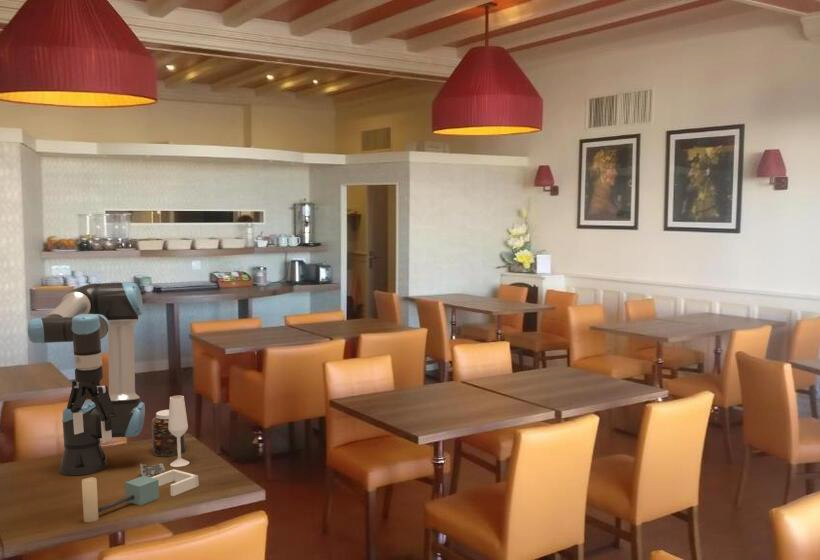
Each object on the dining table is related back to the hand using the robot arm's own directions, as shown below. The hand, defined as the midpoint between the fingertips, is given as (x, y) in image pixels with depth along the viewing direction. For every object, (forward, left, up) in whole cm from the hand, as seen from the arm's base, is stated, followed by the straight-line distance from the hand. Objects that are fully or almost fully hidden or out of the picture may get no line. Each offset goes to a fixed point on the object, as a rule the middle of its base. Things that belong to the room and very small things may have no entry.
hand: (92, 437), depth 231 cm
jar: (-27, +49, -23) cm, 61 cm away
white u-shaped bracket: (+4, +25, -23) cm, 34 cm away
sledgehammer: (+4, +5, -23) cm, 24 cm away
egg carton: (-10, +29, -23) cm, 38 cm away
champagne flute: (-13, +42, -23) cm, 50 cm away
